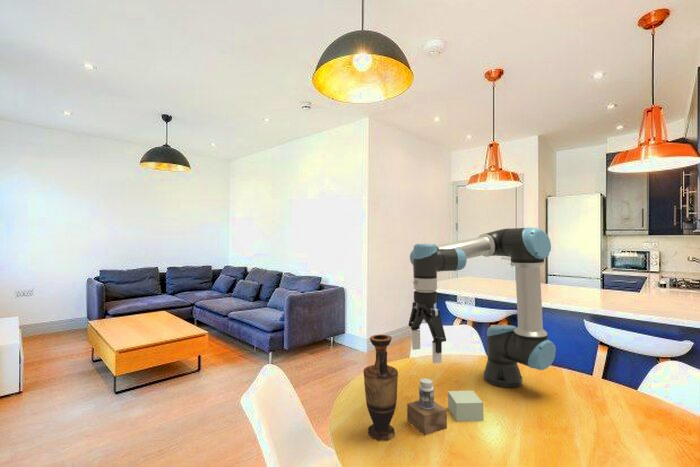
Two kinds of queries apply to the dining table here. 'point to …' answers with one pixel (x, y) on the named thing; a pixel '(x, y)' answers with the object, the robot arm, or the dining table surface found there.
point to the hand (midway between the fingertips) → (426, 355)
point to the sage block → (465, 406)
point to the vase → (381, 390)
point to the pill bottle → (426, 394)
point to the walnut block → (427, 417)
